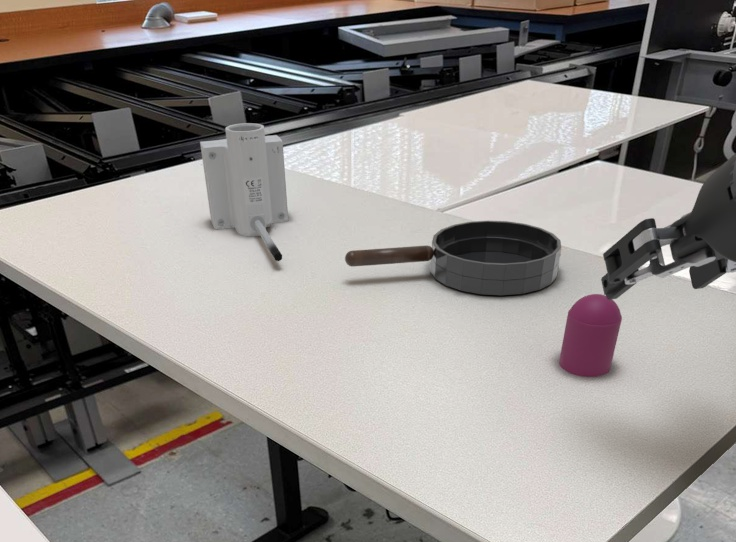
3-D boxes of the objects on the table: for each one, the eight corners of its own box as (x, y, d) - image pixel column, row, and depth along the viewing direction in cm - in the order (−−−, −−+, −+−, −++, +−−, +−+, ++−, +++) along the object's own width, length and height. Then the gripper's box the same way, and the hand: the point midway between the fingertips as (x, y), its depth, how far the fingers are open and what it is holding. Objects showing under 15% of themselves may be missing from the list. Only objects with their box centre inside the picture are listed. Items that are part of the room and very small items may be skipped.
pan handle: (431, 257, 97) (432, 242, 96) (435, 262, 95) (435, 247, 94) (344, 263, 96) (343, 248, 94) (346, 269, 94) (345, 254, 93)
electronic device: (282, 213, 121) (274, 113, 111) (321, 267, 102) (316, 152, 92) (210, 221, 118) (196, 120, 109) (236, 278, 99) (222, 161, 90)
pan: (531, 248, 106) (535, 217, 103) (574, 293, 93) (581, 259, 90) (419, 256, 104) (420, 224, 101) (447, 303, 91) (449, 268, 88)
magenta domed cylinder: (597, 353, 80) (612, 284, 75) (618, 376, 76) (635, 304, 71) (551, 357, 80) (563, 287, 74) (569, 381, 75) (583, 309, 70)
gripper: (863, 122, 50) (712, 236, 65) (679, 137, 47) (569, 252, 63) (889, 225, 49) (730, 315, 65) (704, 245, 47) (586, 333, 62)
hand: (651, 284), depth 64 cm, fingers open, 8 cm apart
